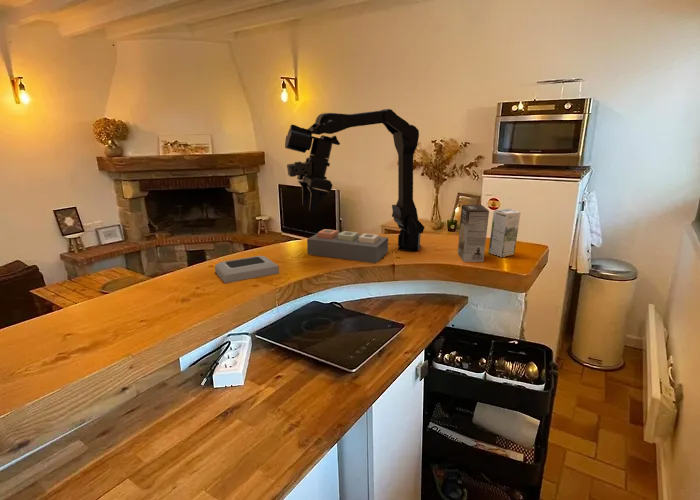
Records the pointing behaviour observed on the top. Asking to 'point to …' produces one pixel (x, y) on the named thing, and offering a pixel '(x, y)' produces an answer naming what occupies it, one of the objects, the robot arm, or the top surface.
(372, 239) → the cream key
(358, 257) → the gray keypad housing
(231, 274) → the grey flat block
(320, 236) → the terracotta key
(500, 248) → the syrup box
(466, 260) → the coffee box
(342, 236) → the sage key
